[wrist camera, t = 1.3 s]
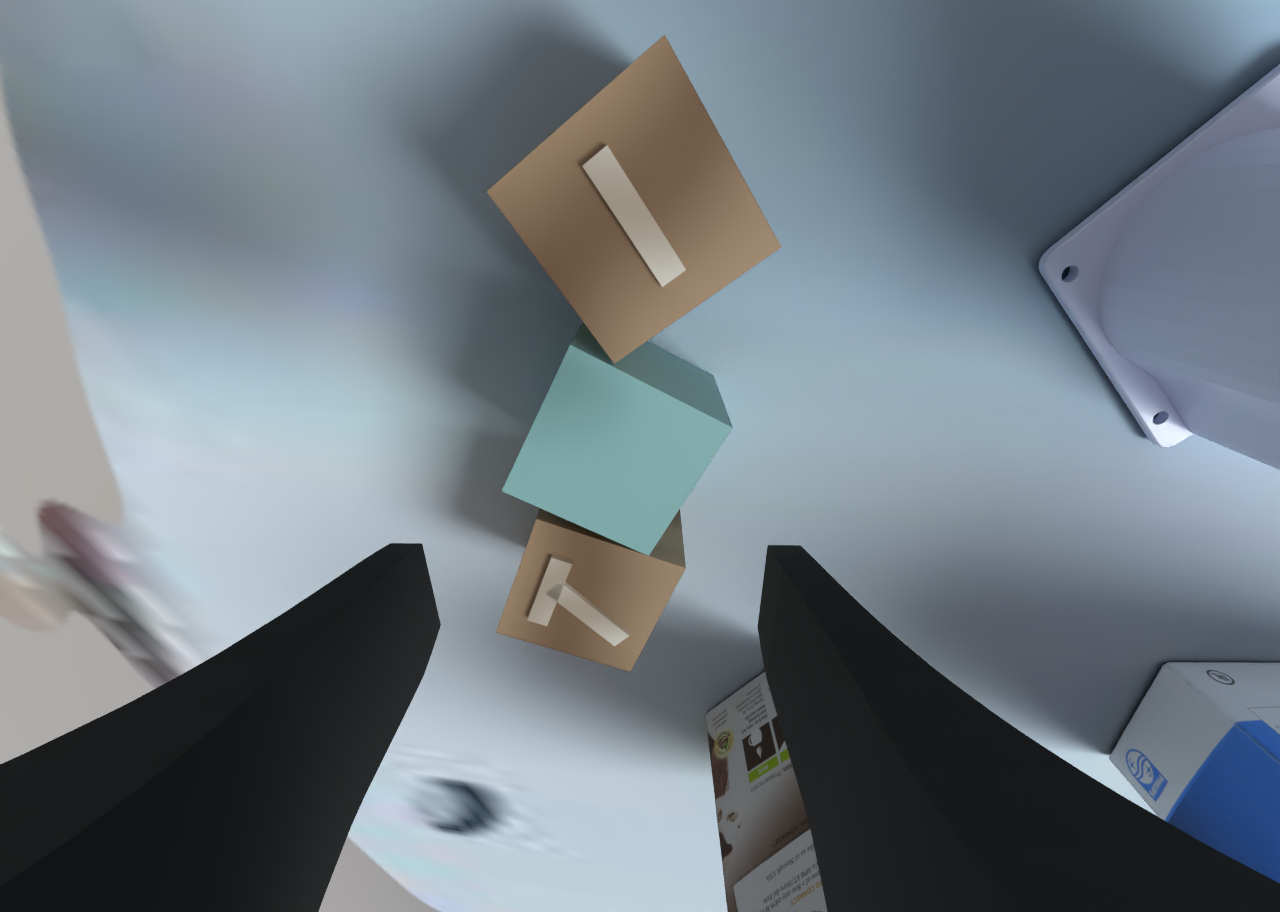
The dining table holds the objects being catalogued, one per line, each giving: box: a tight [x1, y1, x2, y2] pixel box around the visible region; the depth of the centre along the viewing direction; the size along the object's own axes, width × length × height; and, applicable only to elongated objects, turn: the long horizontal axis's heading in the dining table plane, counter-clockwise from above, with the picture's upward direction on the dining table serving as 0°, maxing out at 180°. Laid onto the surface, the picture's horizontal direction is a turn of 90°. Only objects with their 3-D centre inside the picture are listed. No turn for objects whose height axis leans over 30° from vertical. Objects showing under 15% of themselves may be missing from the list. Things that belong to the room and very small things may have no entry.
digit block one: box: [486, 35, 781, 364], centre depth 14 cm, size 5×5×5 cm
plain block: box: [502, 322, 733, 556], centre depth 17 cm, size 5×5×5 cm
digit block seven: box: [496, 508, 686, 672], centre depth 20 cm, size 5×5×5 cm
